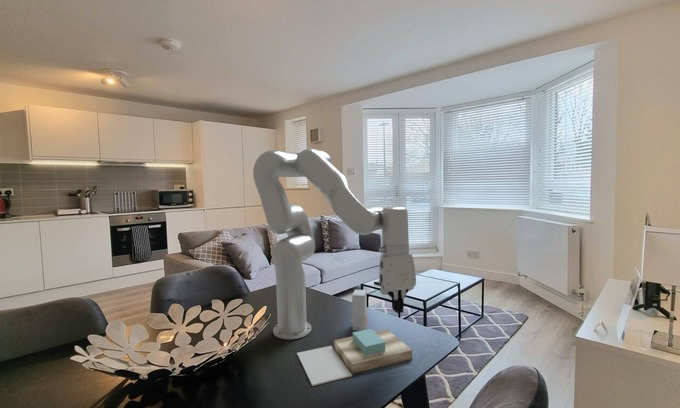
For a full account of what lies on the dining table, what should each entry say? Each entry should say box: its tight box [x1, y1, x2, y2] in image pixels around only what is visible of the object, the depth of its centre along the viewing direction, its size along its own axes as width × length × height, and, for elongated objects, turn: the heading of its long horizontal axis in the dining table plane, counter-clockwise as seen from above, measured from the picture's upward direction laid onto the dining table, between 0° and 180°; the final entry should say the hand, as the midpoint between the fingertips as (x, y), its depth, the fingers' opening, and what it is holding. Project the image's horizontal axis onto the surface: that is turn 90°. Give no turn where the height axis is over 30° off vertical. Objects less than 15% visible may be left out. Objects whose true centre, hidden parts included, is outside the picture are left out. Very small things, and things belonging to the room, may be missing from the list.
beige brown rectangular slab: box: [333, 329, 413, 375], centre depth 93 cm, size 14×18×2 cm
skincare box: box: [351, 289, 368, 331], centre depth 110 cm, size 6×4×12 cm
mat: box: [296, 345, 353, 387], centre depth 88 cm, size 16×10×1 cm, turn 21°
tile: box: [352, 328, 385, 355], centre depth 93 cm, size 9×6×2 cm, turn 21°
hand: (398, 311), depth 95 cm, fingers closed
